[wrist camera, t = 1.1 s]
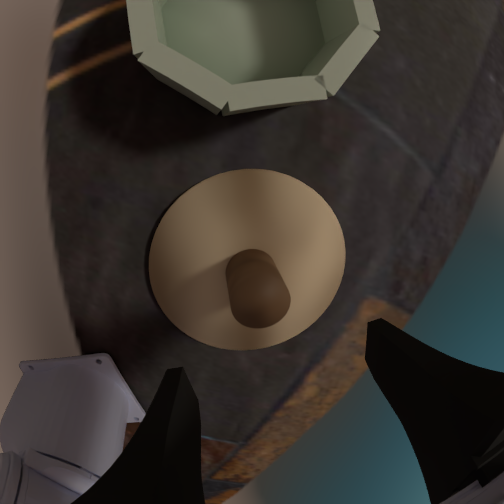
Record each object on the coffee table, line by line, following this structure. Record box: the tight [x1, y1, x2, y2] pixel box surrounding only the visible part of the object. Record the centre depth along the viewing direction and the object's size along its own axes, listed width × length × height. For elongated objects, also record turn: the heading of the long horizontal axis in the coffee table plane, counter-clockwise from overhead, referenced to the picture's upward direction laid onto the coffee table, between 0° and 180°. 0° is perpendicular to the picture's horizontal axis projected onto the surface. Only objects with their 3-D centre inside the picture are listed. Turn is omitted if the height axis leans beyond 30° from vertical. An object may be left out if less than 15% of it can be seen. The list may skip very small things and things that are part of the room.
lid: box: [149, 169, 345, 350], centre depth 17 cm, size 12×12×4 cm
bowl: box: [126, 0, 380, 116], centre depth 11 cm, size 10×10×5 cm
